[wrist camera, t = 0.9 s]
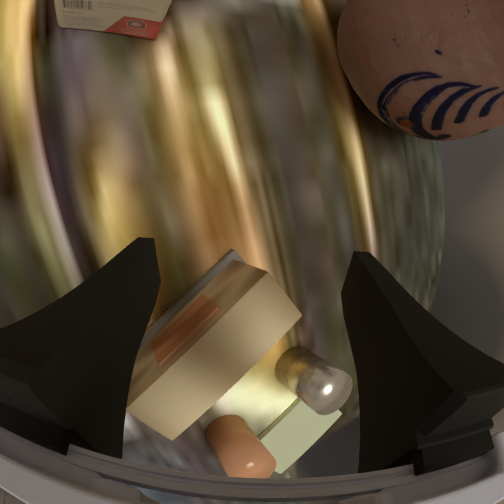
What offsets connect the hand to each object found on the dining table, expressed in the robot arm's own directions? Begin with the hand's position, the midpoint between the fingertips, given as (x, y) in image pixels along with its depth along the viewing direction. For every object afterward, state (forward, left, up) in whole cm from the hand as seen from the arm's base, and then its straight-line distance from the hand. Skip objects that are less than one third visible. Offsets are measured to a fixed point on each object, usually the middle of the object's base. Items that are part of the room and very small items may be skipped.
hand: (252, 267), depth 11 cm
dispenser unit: (-4, -6, -12) cm, 14 cm away
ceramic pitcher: (+26, +2, -12) cm, 29 cm away
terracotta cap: (-9, -16, -12) cm, 22 cm away
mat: (-5, -23, -12) cm, 26 cm away
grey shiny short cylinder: (0, -16, -12) cm, 20 cm away
